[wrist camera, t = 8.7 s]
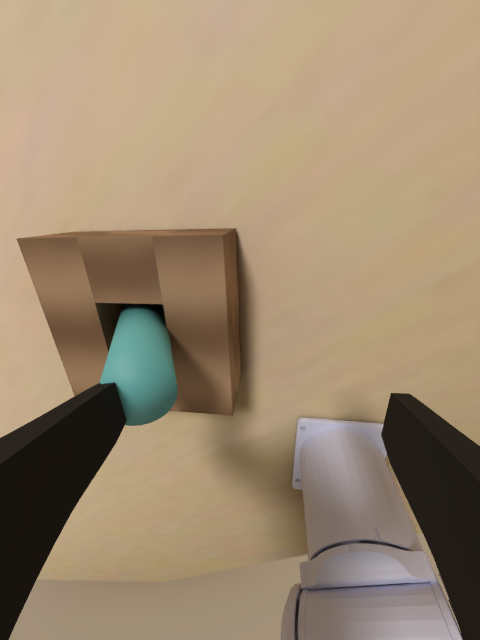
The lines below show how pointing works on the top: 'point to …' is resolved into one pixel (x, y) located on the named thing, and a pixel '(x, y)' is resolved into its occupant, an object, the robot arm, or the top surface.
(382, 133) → the top surface
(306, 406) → the top surface
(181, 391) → the socket block
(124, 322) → the peg
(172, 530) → the top surface
